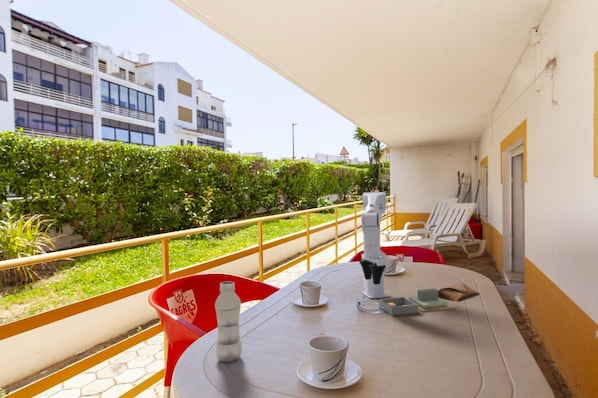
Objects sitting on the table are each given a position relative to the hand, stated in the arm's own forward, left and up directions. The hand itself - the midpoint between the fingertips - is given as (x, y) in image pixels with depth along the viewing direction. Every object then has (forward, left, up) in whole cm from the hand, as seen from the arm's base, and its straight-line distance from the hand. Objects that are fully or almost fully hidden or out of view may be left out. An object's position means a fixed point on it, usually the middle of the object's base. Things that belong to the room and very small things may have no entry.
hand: (372, 281), depth 131 cm
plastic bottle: (+28, -53, -10) cm, 61 cm away
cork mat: (+4, +20, -9) cm, 23 cm away
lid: (+4, +20, -9) cm, 23 cm away
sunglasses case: (-3, +39, -10) cm, 40 cm away
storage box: (+6, +7, -9) cm, 13 cm away
